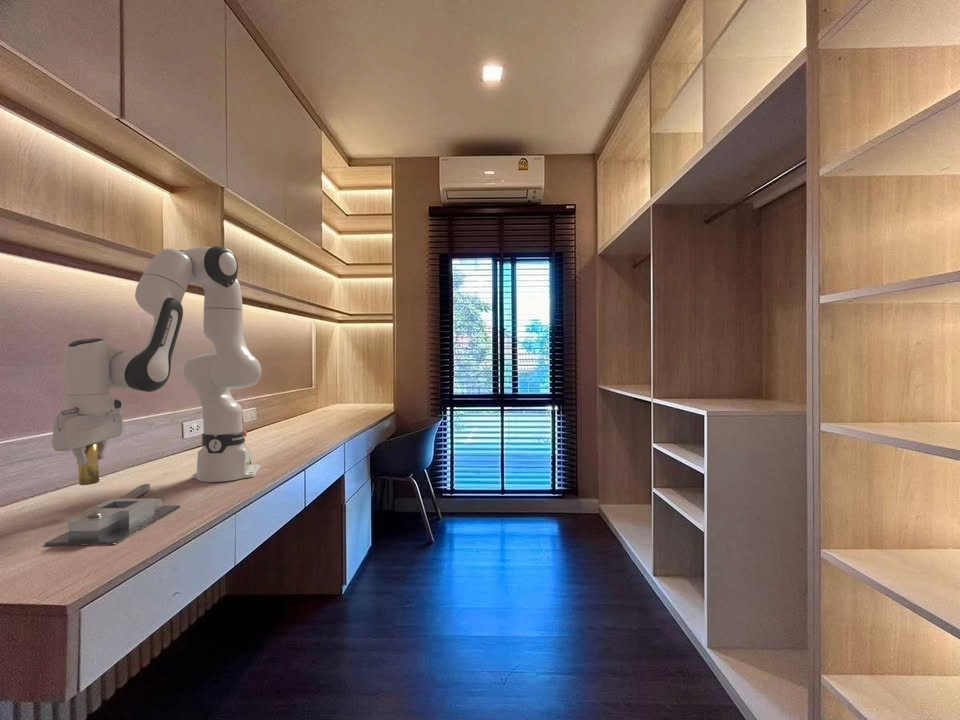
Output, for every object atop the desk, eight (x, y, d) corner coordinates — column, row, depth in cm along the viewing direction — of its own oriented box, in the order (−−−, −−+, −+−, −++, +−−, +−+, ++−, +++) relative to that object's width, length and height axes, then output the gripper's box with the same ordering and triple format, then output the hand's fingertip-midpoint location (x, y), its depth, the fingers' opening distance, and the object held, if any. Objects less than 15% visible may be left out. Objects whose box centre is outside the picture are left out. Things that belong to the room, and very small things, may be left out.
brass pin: (84, 481, 132) (82, 441, 132) (102, 480, 133) (100, 440, 132) (75, 485, 128) (73, 444, 128) (94, 484, 129) (92, 443, 128)
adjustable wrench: (141, 490, 154) (140, 483, 154) (165, 486, 155) (165, 480, 155) (96, 514, 129) (95, 506, 129) (125, 510, 131) (125, 502, 131)
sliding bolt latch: (123, 508, 135) (122, 488, 135) (180, 507, 136) (179, 488, 136) (44, 545, 109) (44, 521, 109) (115, 544, 110) (115, 520, 110)
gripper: (71, 411, 119) (73, 472, 120) (127, 400, 140) (128, 453, 140) (42, 411, 119) (44, 472, 120) (102, 400, 140) (104, 453, 140)
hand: (90, 462), depth 130 cm, fingers closed on brass pin, 4 cm apart
